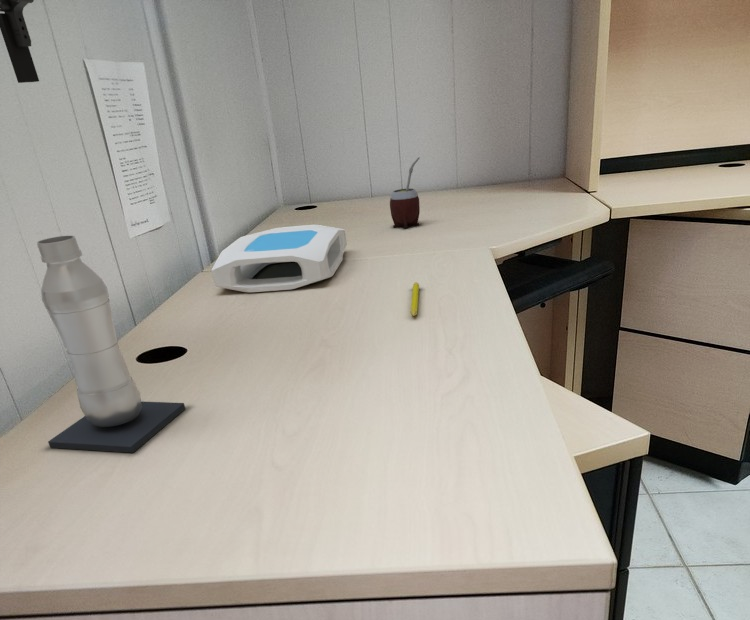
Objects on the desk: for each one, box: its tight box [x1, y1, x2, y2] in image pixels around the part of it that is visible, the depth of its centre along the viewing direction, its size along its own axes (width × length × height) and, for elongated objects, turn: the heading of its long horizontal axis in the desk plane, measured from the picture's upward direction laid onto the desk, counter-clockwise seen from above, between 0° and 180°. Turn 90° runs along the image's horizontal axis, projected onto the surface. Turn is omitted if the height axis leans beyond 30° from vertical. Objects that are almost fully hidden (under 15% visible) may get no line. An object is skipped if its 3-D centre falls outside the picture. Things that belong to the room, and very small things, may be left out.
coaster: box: [47, 400, 186, 454], centre depth 76 cm, size 11×11×1 cm
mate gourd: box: [389, 157, 421, 230], centre depth 156 cm, size 8×8×15 cm
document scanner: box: [210, 224, 347, 293], centre depth 131 cm, size 21×28×6 cm
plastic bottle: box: [36, 235, 142, 427], centre depth 71 cm, size 6×7×20 cm
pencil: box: [410, 282, 420, 317], centre depth 106 cm, size 16×1×1 cm, turn 176°
